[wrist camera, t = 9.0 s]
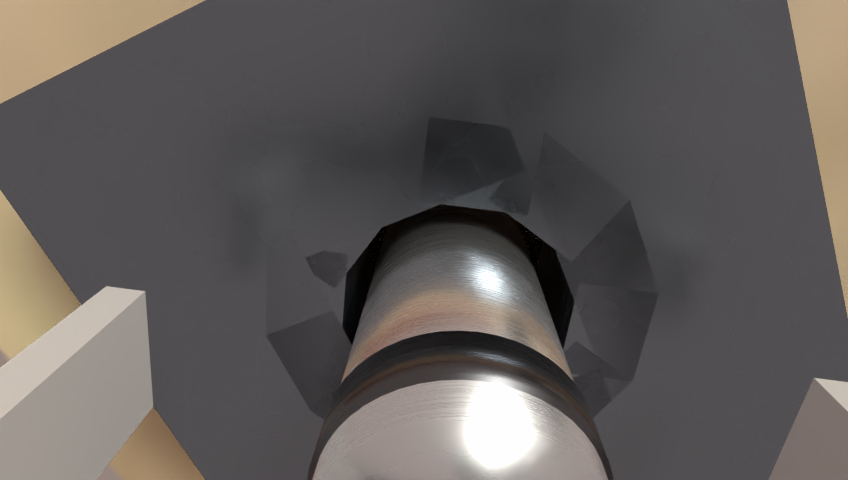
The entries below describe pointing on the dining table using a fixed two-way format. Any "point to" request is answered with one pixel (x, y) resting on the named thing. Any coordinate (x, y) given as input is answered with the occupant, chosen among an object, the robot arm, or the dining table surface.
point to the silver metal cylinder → (457, 365)
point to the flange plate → (450, 185)
